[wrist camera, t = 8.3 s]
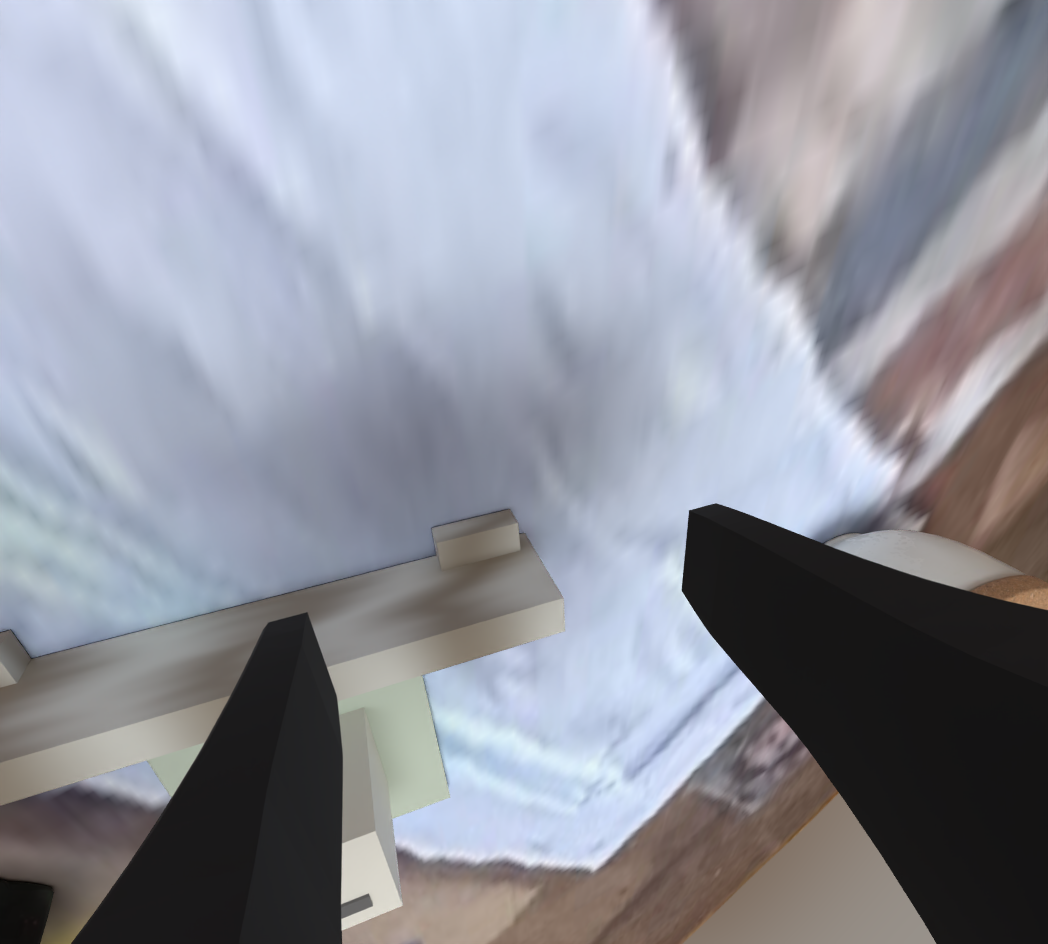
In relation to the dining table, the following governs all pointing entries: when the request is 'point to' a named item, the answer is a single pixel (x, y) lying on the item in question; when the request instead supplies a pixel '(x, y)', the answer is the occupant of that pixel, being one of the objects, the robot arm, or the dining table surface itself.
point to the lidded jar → (945, 564)
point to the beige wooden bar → (230, 637)
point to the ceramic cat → (23, 912)
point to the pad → (398, 738)
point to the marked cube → (365, 827)
